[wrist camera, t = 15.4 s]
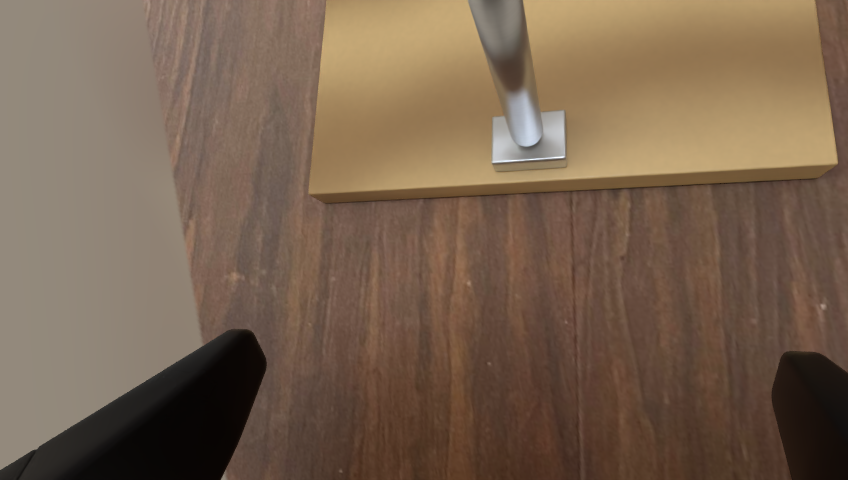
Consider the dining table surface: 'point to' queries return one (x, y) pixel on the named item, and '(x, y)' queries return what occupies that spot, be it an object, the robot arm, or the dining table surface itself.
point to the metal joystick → (517, 92)
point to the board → (571, 97)
